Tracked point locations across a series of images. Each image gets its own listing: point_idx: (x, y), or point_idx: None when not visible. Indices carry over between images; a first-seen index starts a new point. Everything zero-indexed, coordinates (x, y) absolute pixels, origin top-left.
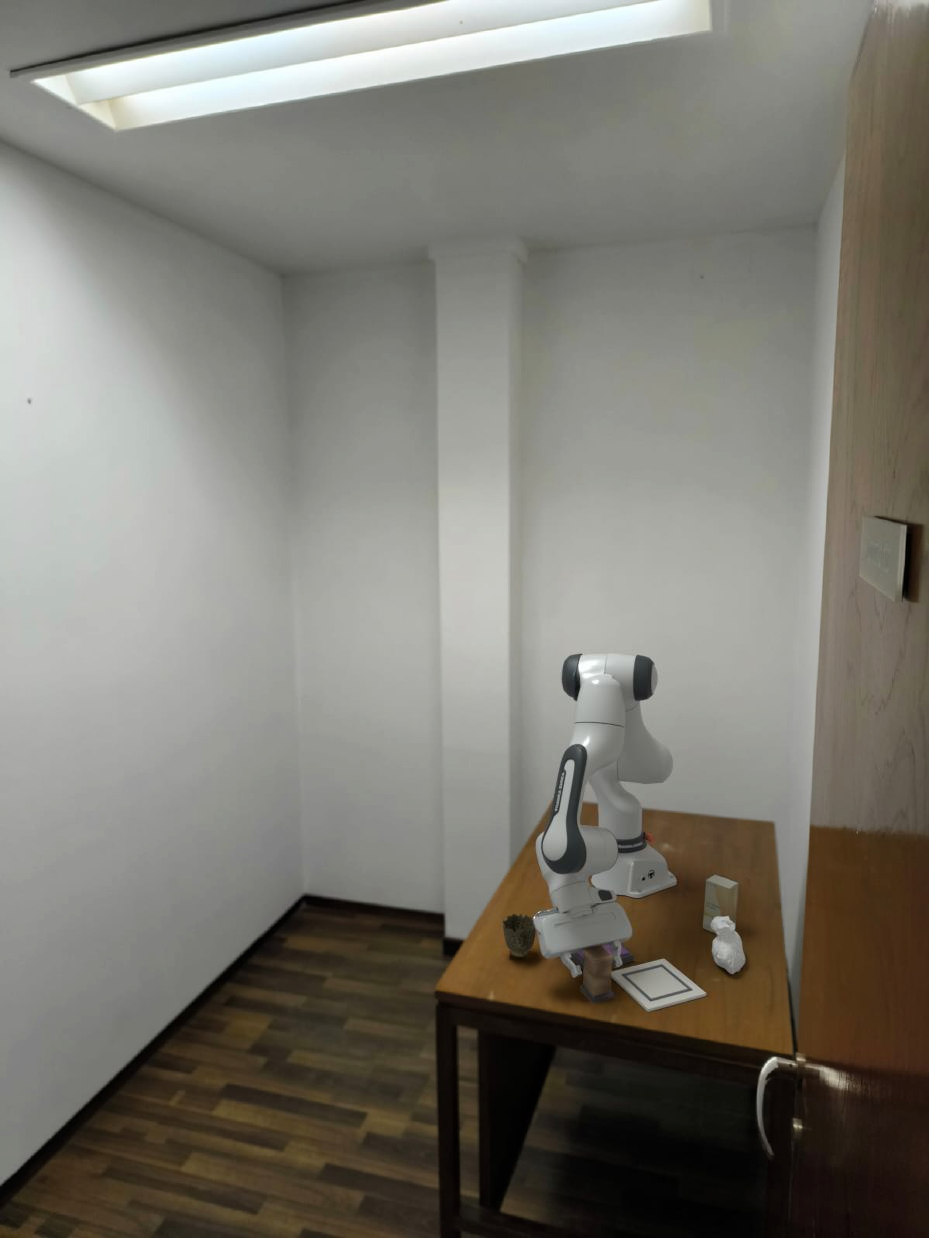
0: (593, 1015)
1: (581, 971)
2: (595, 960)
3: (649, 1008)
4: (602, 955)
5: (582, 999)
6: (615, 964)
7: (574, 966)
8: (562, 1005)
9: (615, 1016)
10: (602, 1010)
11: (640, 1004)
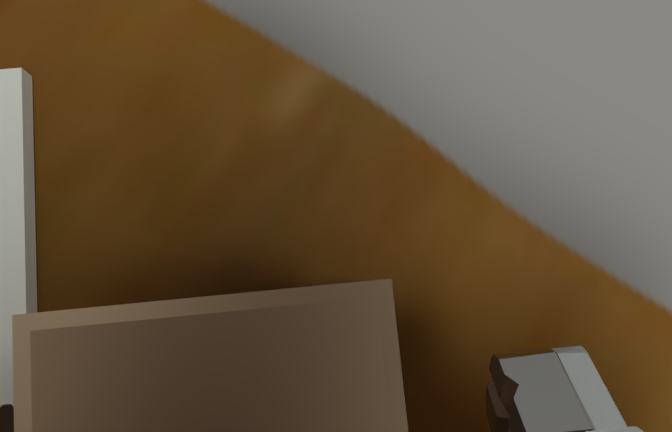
0: (421, 153)
1: (503, 368)
2: (363, 282)
3: (7, 73)
4: (189, 368)
5: (417, 357)
6: (8, 423)
7: (606, 422)
8: (593, 330)
9: (278, 98)
10: (333, 186)
11: (33, 164)
